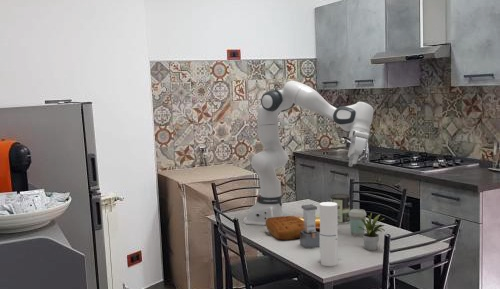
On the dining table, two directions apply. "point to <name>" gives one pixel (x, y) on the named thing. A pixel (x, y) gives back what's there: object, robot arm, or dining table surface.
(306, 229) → the column
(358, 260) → the dining table surface
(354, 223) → the coffee cup
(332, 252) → the cylindrical container
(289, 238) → the cuneiform tablet
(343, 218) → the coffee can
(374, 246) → the house plant
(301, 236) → the stand base
